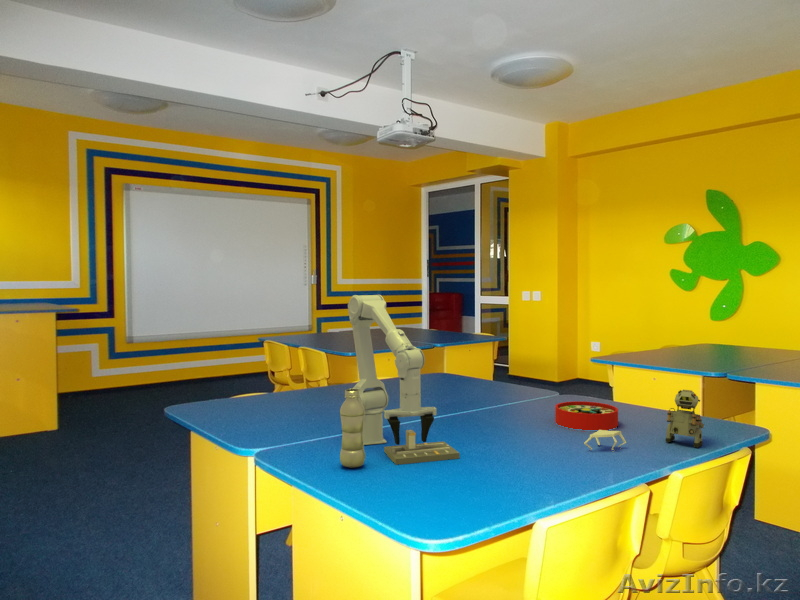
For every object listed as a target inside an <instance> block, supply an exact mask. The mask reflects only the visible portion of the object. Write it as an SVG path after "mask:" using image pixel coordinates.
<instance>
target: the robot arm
mask: <svg viewBox="0 0 800 600" xmlns="http://www.w3.org/2000/svg"><path fill="white" fill-rule="evenodd" d="M347 311H348V316H349V317H348V318H349V323H350V324H351V326H352V327H351V328H352V334H353V335H352V336H353V342H354V346H355V347H354V348H355V355H356V362H357V363H356V364H357V369H358V378H359V380H358V381H357V382H356V383H355V385H354V386H353V387H352V389H358V390H359V395H360V397H359V400H360V402H361V403H362V404H363V406H364V409H365V414H364V422H363V445H364V446H365V445H368V446H369V445H378V444H387V440H386V439H385V438H384V435H383V434H384V433H383V430H384V428H383V426H384V425H383V424H384V421H383V420H384V419H385V420H387V422H388V423H389V425H390V428H391V431H392V434H393V438H394V443H395V444H396V446H398V445H400V442H401V441H400V439H401V438H400V427H401V426H400V425H401V421H400V420H399V418H409V417H420V427H421V433H420V434H421V435H420V436H421V442H422V443H427V441H428V440H427V439H428V435H429V431H430V429H431V426H432V425H433V423H434V421H435V417H434V416H437V407H435V406H422V403H421V401H422V399H421V397H422V395H421V392H422V390H421V386H422V385H421V384H422V383H421V381H422V380H421V379H422V378H421V370H422V369H423V368H424V367H425V362H426V359H425V358H426V357H425V354H424V352H423V350H422V349H421V348H417V347H416V346H414V345H413V344H412V343H411V341H410V340H409V338H408V337H407V335H406V334H405V331H404V330H402V329H399V328H397V327H396V325H395V323H394V322H393V320H392V319H391V316H390V315H389V313H388V311H387V302H386V300H385V299H384V297H383V296H382V295H381V294H373V295H370V294H369V295H368V294H365V295H364V294H362V295H357V294H354V295H352V296H351V297H350V299H349V302H348V303H347ZM373 323H376V324H377V326H378V327H379V328H380V330H381V331H382V332H383V333H384V334H385V341H384V342H385V343H386V345H387V346H388V347H389V349H390V351H391V352H392V354H393V356H394V357H395V359H394V364H395V367H396V370H397V376H398V378H399V408H394V409H386V408H387V407H388V404H389V394H388V392H387V390H386V387H385V386H386V385H385V383H384V382H383V381H381V380H380V379H378V377H377V369H376V362H375V355H374V354H375V353H374V347H373V341H372V334H371V327H372V324H373ZM385 409H386V410H385ZM383 418H384V419H383Z"/></svg>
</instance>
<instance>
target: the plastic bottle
mask: <svg viewBox="0 0 800 600" xmlns="http://www.w3.org/2000/svg"><path fill="white" fill-rule="evenodd" d="M359 397H360V395H359V390H358V389H353V388H346V389H344V398H345V400H344V401H343V402H342V404H341V406H340V409H339V415H340V422H341V423H340V424H341V431H342V432H341V436H342V437H341V449H340V453H339V461H340V464H341V465H342V466H343V467H345V468H350V469H353V468H359V467H362V466H363V465H364V463H365V460H366V452H365V451H366V450H365V447H364V446H365V445H363V422H364V414H365V409H364V406H363V404H362V403H361V402H360V400H359Z"/></svg>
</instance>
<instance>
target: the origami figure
mask: <svg viewBox="0 0 800 600" xmlns="http://www.w3.org/2000/svg"><path fill="white" fill-rule="evenodd" d="M616 436H619V437H620V438H621V440H622V442H623V443H621V444H619V445H617V444H618V441H617V439H616ZM611 437H612V438H613V441H614V443H613V445H612V447H611V451H612V450H614V451H615V449H614V447H615V446H616V445H617V447H618V448H619V447H621V446H622V445H624V444H627V441H626V439H625V437H624V436H623V434H622V431H621V430H611V431H608V430H598V431H597V432H592V433H591V434H589V437H588V439H586V440H585V441H584V443H583V444H584V445H585V446H586V447H588V448H589V450H590V451H591V450H593V448H592V447H591V445H589V444H588V443H589V442H590V441H591V440H592V439H593V438H595V440H596V442H597V445H599V446H600V445H601V443H600V440H599V438H611Z"/></svg>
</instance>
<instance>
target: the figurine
mask: <svg viewBox="0 0 800 600" xmlns="http://www.w3.org/2000/svg"><path fill="white" fill-rule="evenodd" d="M674 402H675V405H676V407H677V409H675V408H674V407H670V408H669V410H667V418H666V422H667V423H668V424H667V426H666V435H665V436H666V437H665V442H666V443H667V442H671V441H673V440H674V441H675V439H676V436H675V435H680V436H685V437H693V438H694V442H693V447H694V448H696V449H698V448H700V447H701V446H703V444H704V442H703V441H704V440H703V433H702V432H703V431H702V429H704V428H705V427H704V426H705V423H703V422H702V421H703V419H702V417H701V414H698V413H696V412H695V409H696V407H697V406H698V404H699V402H701V399H699V396H698V395H697V393H695V392H694V391H693V390H691V389H682V390H681V389H679V390H678V392H677V394H675V397H674ZM679 408H680V409H679ZM672 409H673V410H672ZM683 409H684V410H683ZM692 409H693V410H692ZM674 441H673V442H674ZM671 443H672V442H671Z"/></svg>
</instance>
